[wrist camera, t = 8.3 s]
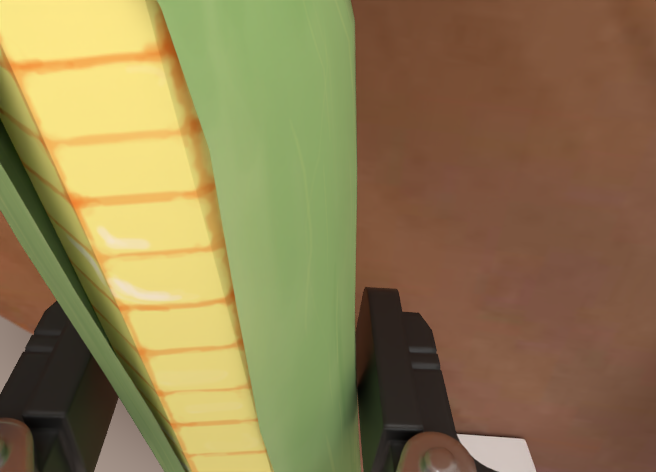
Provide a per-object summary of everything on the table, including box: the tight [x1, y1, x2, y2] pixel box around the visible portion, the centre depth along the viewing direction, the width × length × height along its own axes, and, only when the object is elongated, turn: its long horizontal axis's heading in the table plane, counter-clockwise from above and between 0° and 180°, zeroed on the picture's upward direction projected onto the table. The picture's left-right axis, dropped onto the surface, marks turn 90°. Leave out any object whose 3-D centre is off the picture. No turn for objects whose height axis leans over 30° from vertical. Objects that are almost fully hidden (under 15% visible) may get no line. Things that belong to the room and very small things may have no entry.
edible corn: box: [0, 0, 361, 472], centre depth 11 cm, size 5×20×5 cm, turn 4°
